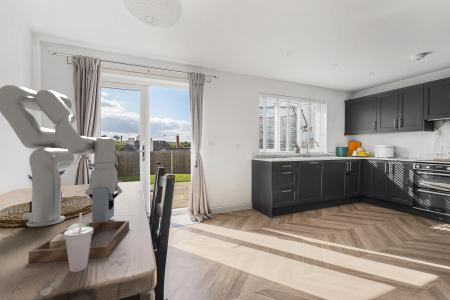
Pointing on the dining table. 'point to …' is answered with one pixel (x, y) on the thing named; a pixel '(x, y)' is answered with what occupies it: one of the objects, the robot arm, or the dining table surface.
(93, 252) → the walnut tray
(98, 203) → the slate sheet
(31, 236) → the dining table surface
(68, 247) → the smoothie
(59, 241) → the birch offcut
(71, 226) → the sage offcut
